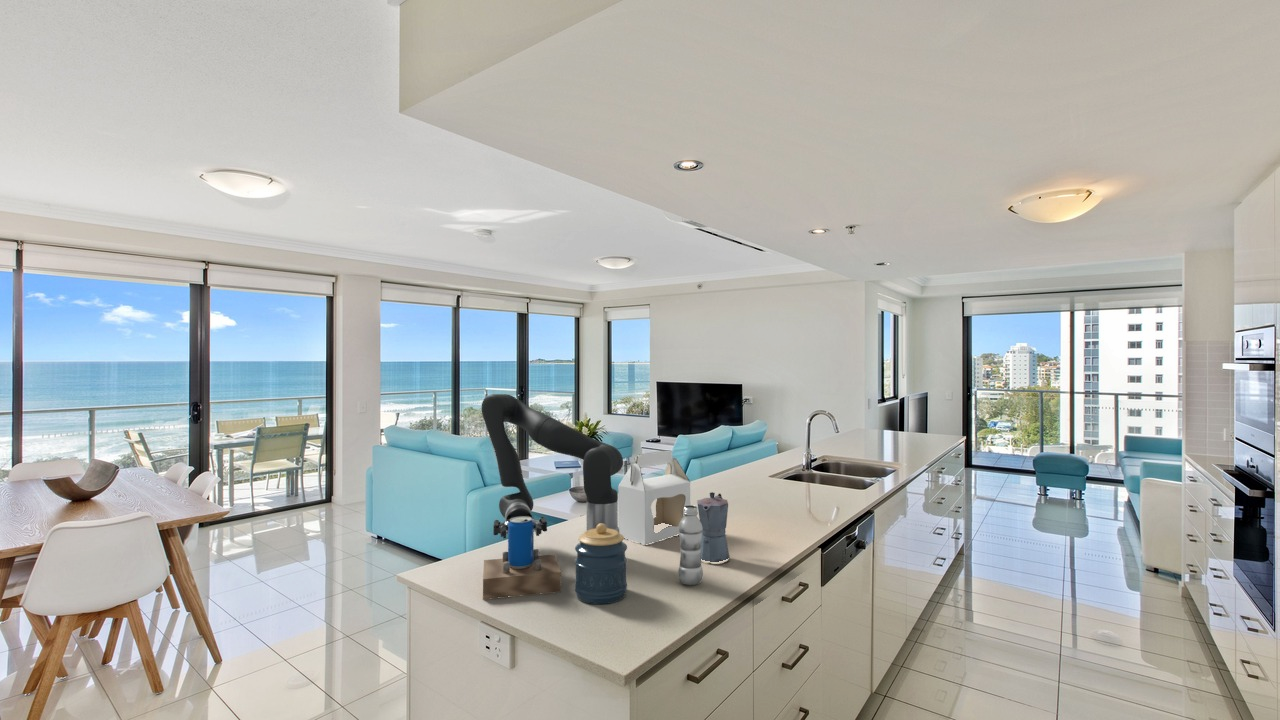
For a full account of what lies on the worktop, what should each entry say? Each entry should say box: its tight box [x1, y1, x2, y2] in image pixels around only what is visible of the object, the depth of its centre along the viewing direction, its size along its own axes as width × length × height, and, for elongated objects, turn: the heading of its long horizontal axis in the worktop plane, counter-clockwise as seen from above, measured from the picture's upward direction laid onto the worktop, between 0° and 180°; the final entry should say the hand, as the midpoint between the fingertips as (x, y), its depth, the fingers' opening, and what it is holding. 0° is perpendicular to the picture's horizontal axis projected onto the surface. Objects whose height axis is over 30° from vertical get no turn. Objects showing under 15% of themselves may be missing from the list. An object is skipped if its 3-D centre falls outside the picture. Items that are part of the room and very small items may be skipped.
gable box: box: [617, 449, 691, 546], centre depth 190 cm, size 22×13×28 cm, turn 133°
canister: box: [574, 523, 628, 605], centre depth 140 cm, size 13×13×18 cm
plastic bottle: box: [677, 504, 704, 586], centre depth 147 cm, size 6×7×20 cm
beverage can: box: [507, 516, 535, 569], centre depth 146 cm, size 6×6×12 cm
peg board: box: [482, 549, 562, 600], centre depth 146 cm, size 19×14×8 cm
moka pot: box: [696, 491, 730, 562], centre depth 166 cm, size 10×15×20 cm, turn 158°
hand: (521, 533), depth 147 cm, fingers open, 8 cm apart
